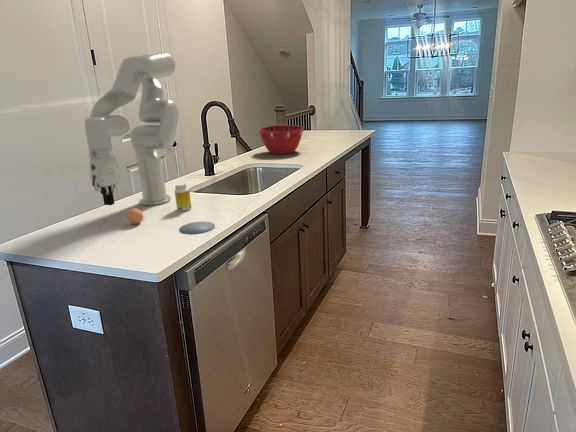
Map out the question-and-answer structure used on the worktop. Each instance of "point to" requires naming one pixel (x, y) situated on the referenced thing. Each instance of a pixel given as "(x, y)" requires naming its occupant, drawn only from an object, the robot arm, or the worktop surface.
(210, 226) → the disc
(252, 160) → the worktop surface
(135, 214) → the ball
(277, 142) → the mixing bowl
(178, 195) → the supplement bottle
